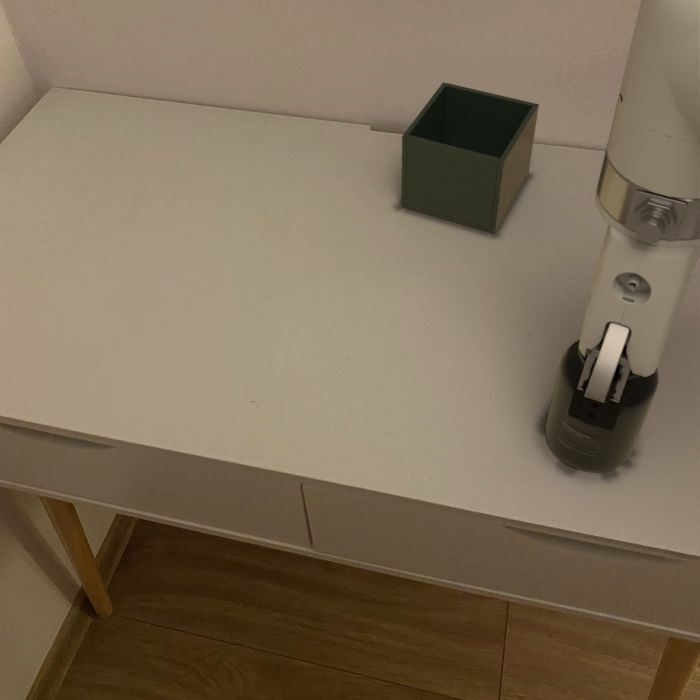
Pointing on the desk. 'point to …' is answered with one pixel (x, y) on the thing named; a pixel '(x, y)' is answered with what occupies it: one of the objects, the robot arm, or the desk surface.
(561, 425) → the supplement bottle
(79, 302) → the desk surface
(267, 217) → the desk surface
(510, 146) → the open box
